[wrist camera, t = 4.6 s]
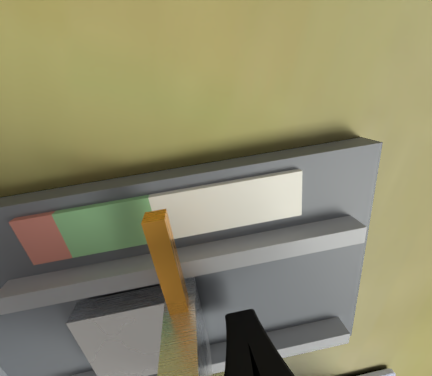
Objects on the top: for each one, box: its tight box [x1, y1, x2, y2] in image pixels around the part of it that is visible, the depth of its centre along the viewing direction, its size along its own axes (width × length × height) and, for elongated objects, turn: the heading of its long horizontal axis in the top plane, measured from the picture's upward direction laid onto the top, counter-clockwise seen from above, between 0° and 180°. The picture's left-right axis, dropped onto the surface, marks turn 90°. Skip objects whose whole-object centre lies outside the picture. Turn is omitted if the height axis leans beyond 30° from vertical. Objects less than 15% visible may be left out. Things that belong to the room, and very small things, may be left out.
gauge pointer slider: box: [66, 209, 213, 376], centre depth 8 cm, size 9×5×5 cm, turn 7°
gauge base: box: [0, 137, 383, 376], centre depth 9 cm, size 12×21×6 cm, turn 97°
